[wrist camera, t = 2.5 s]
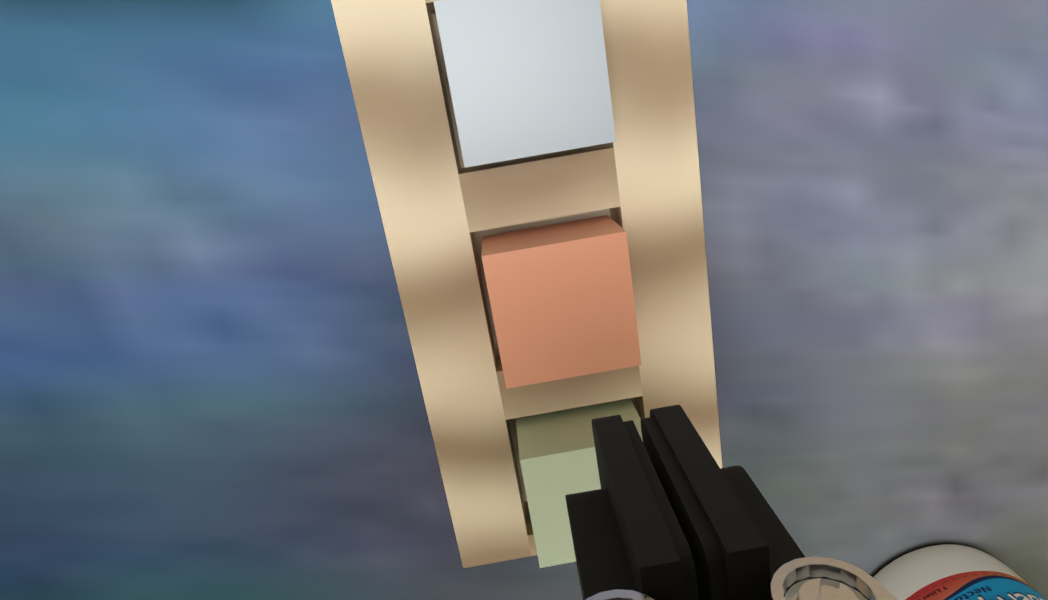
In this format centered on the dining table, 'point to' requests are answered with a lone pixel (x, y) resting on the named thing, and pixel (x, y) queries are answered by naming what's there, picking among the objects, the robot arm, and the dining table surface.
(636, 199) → the button panel
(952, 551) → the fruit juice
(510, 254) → the terracotta button
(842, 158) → the dining table surface
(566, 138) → the slate button
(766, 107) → the dining table surface
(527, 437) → the sage button
